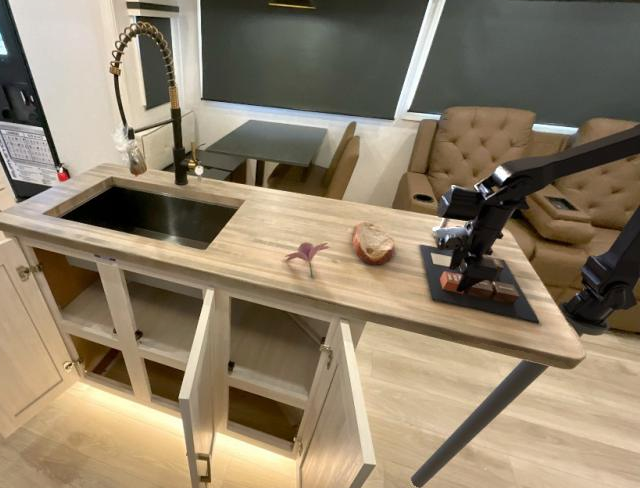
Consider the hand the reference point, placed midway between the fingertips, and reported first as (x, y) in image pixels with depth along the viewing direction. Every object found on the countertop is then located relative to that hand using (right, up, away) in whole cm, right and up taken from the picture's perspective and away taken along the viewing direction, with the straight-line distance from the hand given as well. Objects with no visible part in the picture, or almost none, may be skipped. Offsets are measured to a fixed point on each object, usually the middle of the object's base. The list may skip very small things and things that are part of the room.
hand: (454, 280), depth 79 cm
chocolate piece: (+5, -3, 0) cm, 6 cm away
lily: (-36, +3, +6) cm, 37 cm away
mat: (+7, 0, +5) cm, 9 cm away
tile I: (+10, -4, -1) cm, 11 cm away
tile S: (0, -2, +1) cm, 2 cm away
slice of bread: (-15, +11, +16) cm, 25 cm away
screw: (+9, +14, +22) cm, 27 cm away
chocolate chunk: (+14, +3, +8) cm, 16 cm away
